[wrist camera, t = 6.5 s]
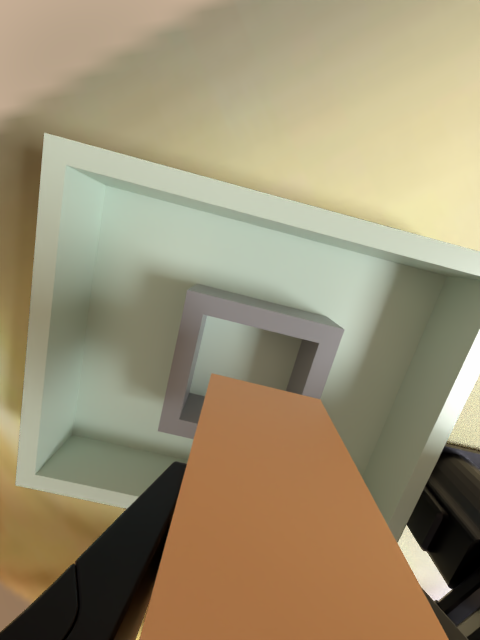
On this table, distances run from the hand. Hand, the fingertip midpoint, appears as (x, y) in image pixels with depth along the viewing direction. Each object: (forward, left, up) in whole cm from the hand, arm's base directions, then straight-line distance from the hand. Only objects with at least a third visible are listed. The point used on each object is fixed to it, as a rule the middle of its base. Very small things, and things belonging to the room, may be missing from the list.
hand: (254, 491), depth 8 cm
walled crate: (0, 0, -11) cm, 11 cm away
